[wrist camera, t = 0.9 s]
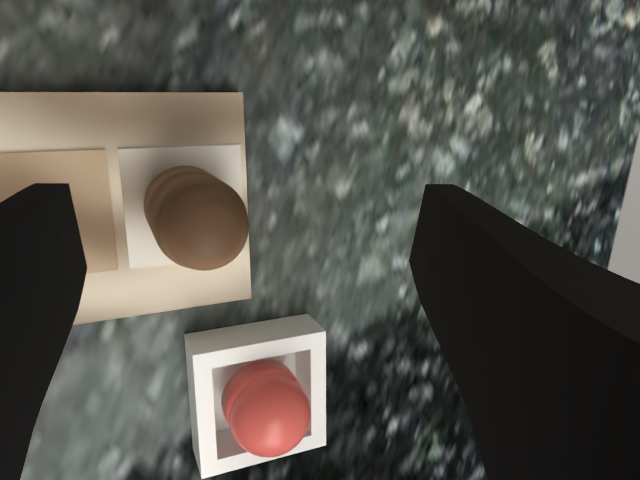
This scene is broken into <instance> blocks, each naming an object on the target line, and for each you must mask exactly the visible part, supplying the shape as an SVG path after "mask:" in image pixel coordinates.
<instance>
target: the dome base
mask: <svg viewBox="0 0 640 480" xmlns="http://www.w3.org/2000/svg"><path fill="white" fill-rule="evenodd" d="M184 340H185V353H186V366H187V379H188V392H189V405H190V417H191V430H192V443H193V451H194V454H195V458H196V461H197V465H198V468H199V472H200V475H201V479H203V478H207V477H211V476H214V475H218V474H222V473H225V472H229V471H233V470H237V469H240V468H244V467H248V466H251V465H255V464H259V463H262V462H266V461H270V460H273V459H277V458H281V457H284V456H288V455H292V454H295V453H299V452H303V451H307V450H310V449H314V448H318V447H321V446H325V445H326V331H325V330H324V329H323V328H322V327H321V326H320V325H319V324H318V323H317V322H316V321H315V320H314V319H313V318H312V317H311V316H310V315H309V314H302V315H296V316H290V317H284V318H278V319H272V320H266V321H260V322H254V323H248V324H242V325H236V326H230V327H224V328H218V329H212V330H206V331H200V332H194V333H188V334H184ZM258 360H274V361H278V362H280V363H282V364H284V365H285V366H287V367H288V368H289V369H290V370H291V372H292V373H293V374H294V376H295V377H296V379H297V380H298V381H299V383H300V384H301V385H302V387H303V388H304V390H305V392H306V393H307V396H308V398H309V402H310V408H311V418H310V424H309V427H308V430H307V432H306V434H305V436H304V438H303V439H302V440H301V442H300V443H299V444H298V445H297V446H296V447H295V448H293V449H292V450H291V451H289V452H287V453H285V454H283V455H280V456H277V457H259V456H256V455H253V454H251V453H249V452H247V451H246V450H245V449H243V448H242V447H241V446H240V445H239V444H238V443H237V442H236V440H235V439H234V437H233V435H232V433H231V431H230V428H229V426H228V424H227V421H226V419H225V416H224V414H223V411H222V406H221V398H222V393H223V390H224V387H225V385H226V383H227V382H228V380H229V379H230V378H231V376H232V375H233V374H234V373H235V372H236V371H237V370H239V369H240V368H242V367H243V366H245V365H247V364H249V363H251V362H254V361H258Z"/></svg>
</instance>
